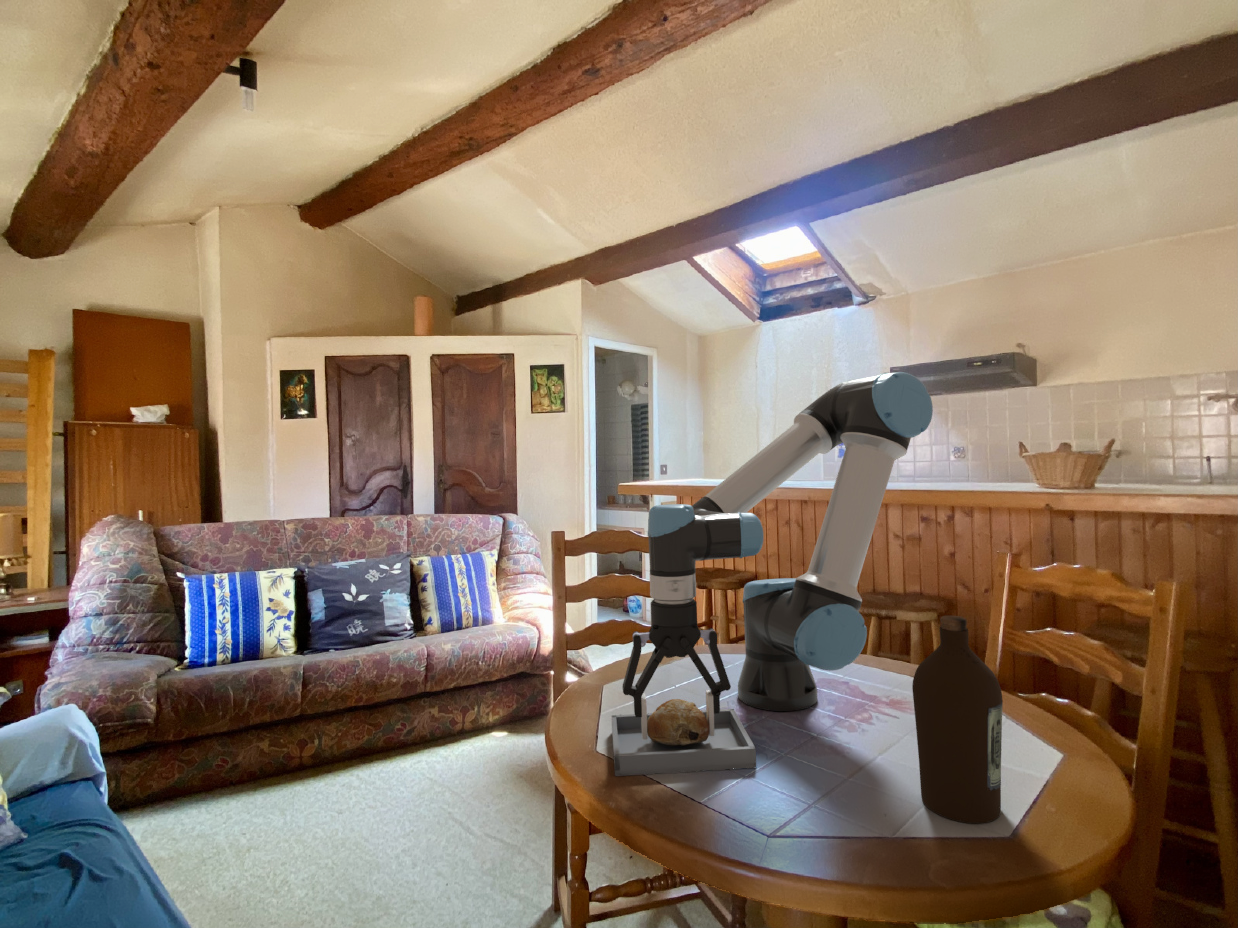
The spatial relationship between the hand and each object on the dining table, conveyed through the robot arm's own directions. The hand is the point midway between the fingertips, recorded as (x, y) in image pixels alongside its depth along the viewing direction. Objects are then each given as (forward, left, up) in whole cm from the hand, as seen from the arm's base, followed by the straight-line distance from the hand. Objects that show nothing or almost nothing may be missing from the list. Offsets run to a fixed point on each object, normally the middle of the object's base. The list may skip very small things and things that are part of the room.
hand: (677, 734), depth 106 cm
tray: (0, 0, -2) cm, 2 cm away
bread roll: (0, 0, -1) cm, 1 cm away
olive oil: (-35, +21, -3) cm, 41 cm away
